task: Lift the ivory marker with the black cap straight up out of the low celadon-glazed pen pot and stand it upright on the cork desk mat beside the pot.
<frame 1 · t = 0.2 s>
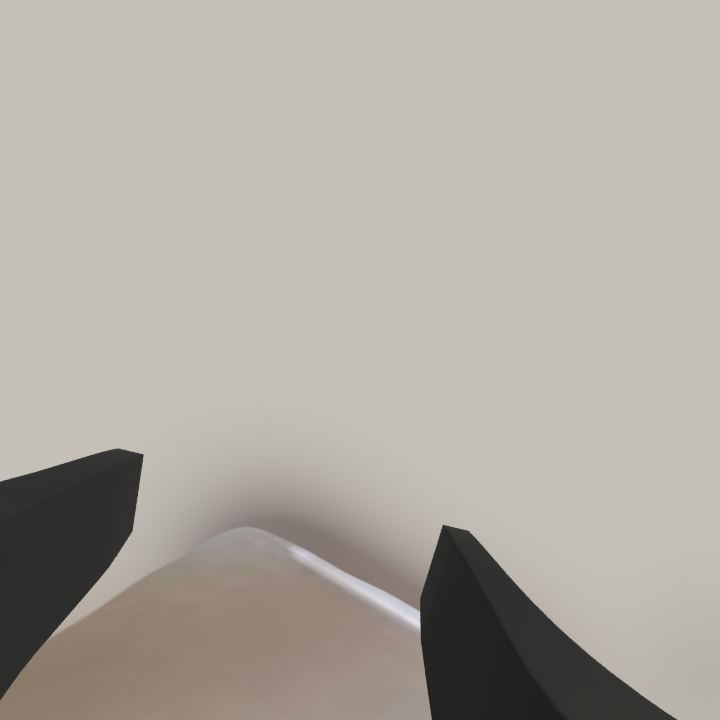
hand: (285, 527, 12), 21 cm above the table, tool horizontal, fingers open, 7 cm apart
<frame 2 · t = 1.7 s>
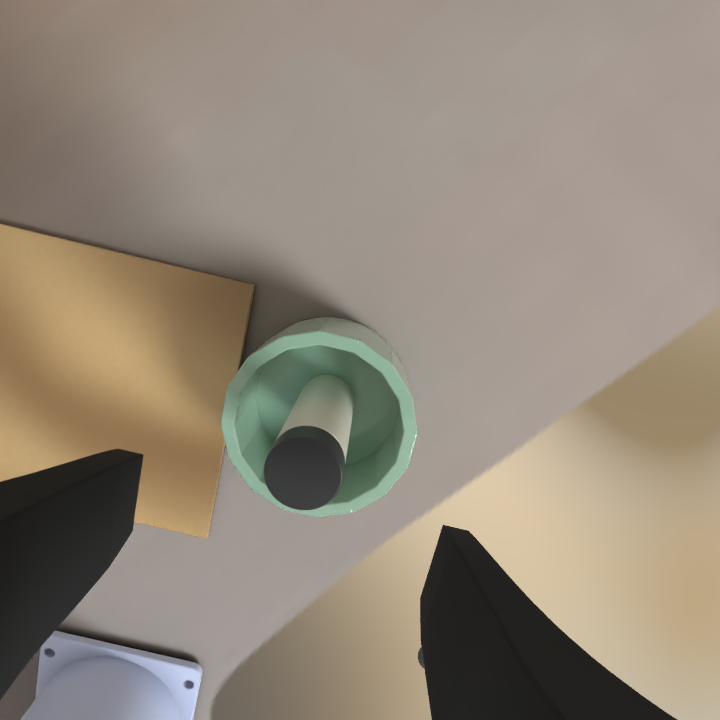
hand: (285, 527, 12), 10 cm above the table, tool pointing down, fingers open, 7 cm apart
marker: (327, 400, 21), resting on pen pot
pen pot: (328, 397, 21), on the table
cork mat: (8, 365, 22), on the table
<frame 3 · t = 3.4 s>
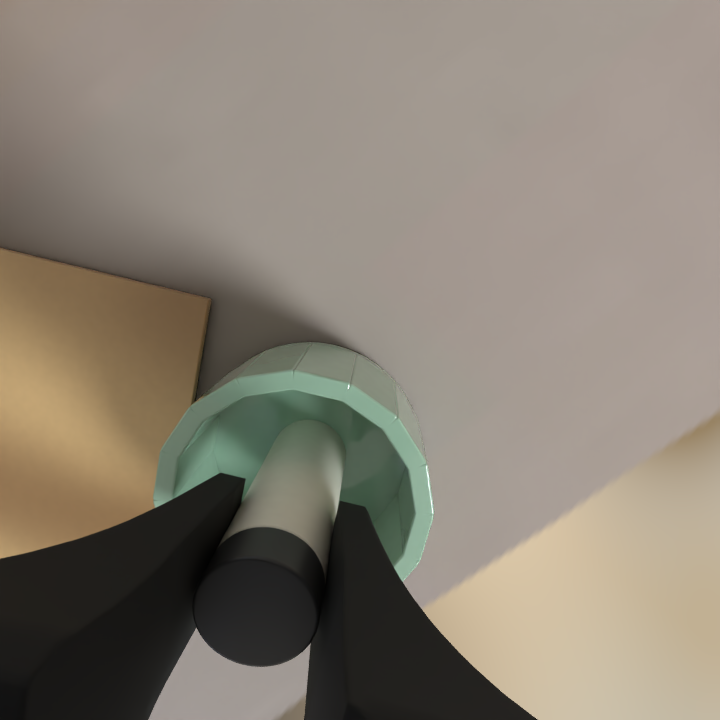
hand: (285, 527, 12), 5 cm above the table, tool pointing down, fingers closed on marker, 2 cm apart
marker: (309, 453, 16), point 1 cm above the table, touching gripper, pen pot
pen pot: (312, 447, 16), on the table
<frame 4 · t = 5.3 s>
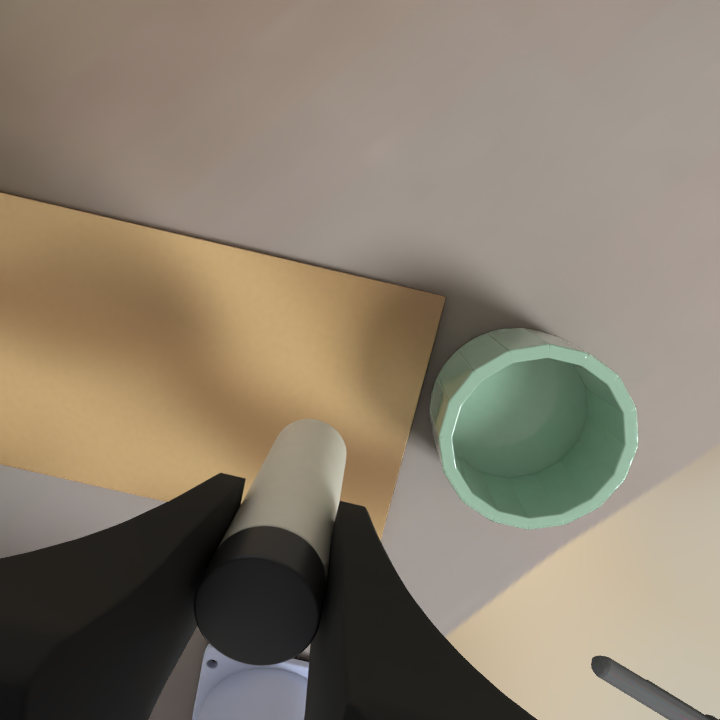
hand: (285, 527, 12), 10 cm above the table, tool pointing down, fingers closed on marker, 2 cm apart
marker: (310, 452, 16), point 6 cm above the table, touching gripper
pen pot: (510, 407, 21), on the table
cork mat: (187, 378, 22), on the table
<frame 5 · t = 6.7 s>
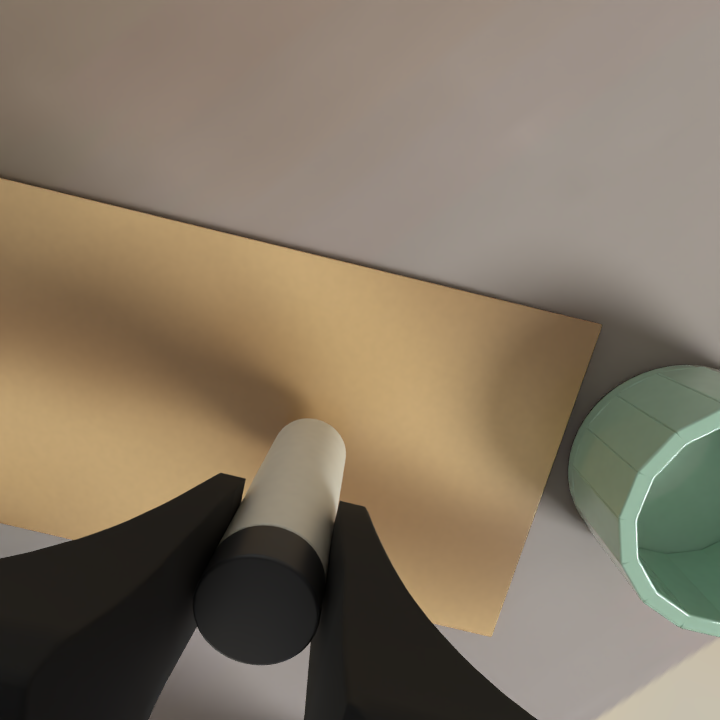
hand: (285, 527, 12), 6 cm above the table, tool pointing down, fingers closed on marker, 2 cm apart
marker: (309, 452, 16), point 1 cm above the table, touching gripper
pen pot: (672, 464, 17), on the table
cork mat: (259, 423, 17), on the table
when the fingers open (4 cm above the table, at t = 7.3 s): marker stays where it is, resting on cork mat.
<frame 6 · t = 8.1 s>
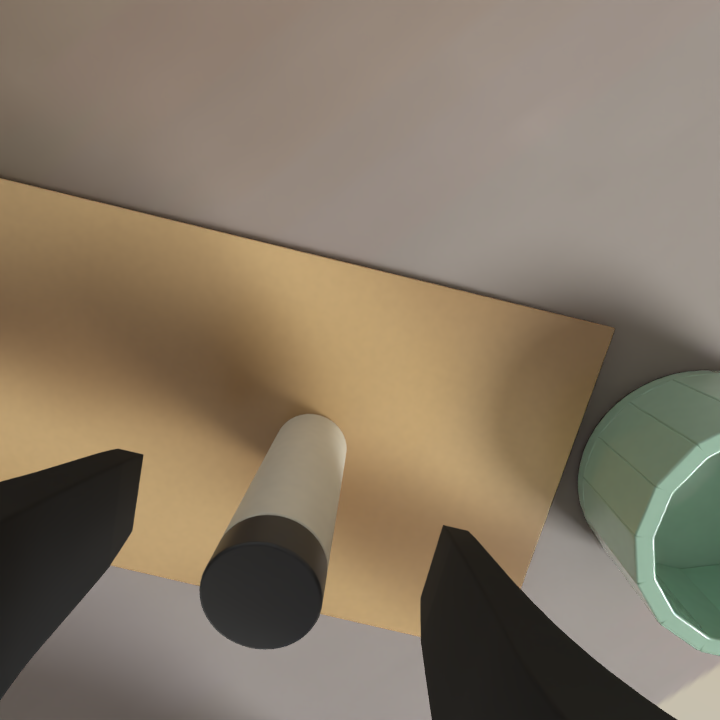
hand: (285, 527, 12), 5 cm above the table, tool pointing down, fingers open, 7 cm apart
marker: (311, 447, 16), resting on cork mat
pen pot: (687, 474, 16), on the table
cork mat: (253, 431, 16), on the table
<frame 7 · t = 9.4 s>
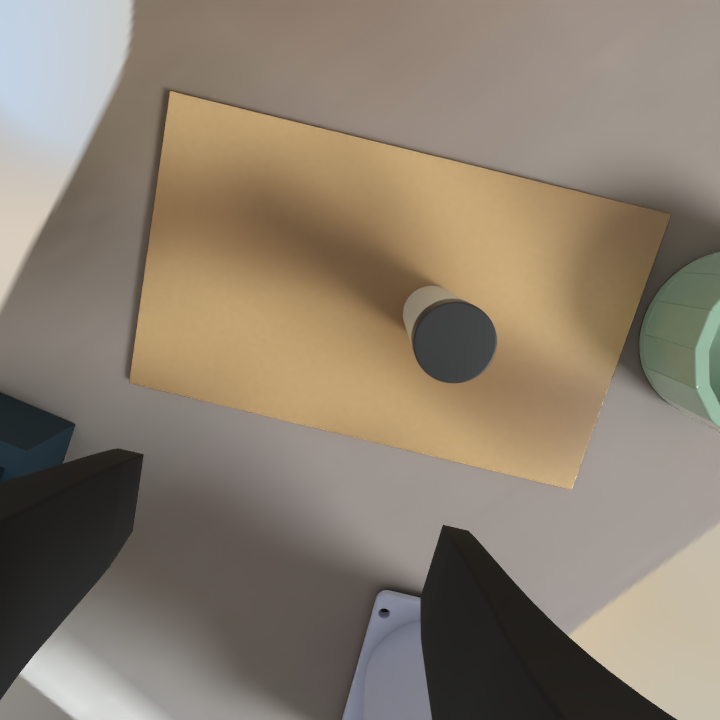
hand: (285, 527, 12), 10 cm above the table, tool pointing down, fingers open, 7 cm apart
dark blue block: (15, 455, 23), on the table
marker: (430, 313, 20), resting on cork mat
cork mat: (384, 302, 21), on the table
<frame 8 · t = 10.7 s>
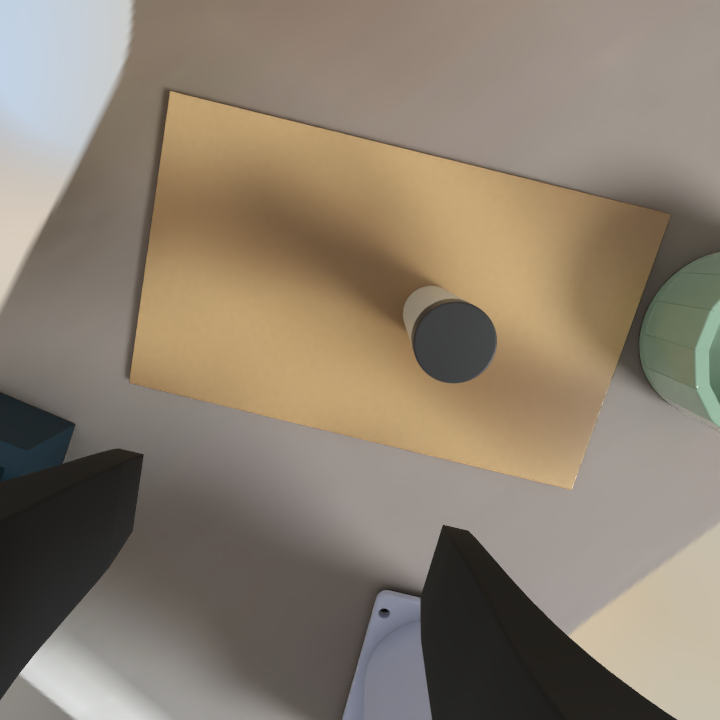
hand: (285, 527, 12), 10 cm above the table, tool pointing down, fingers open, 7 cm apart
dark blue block: (15, 455, 23), on the table
marker: (430, 313, 20), resting on cork mat
cork mat: (384, 302, 21), on the table
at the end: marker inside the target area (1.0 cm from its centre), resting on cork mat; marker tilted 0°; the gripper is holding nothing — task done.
